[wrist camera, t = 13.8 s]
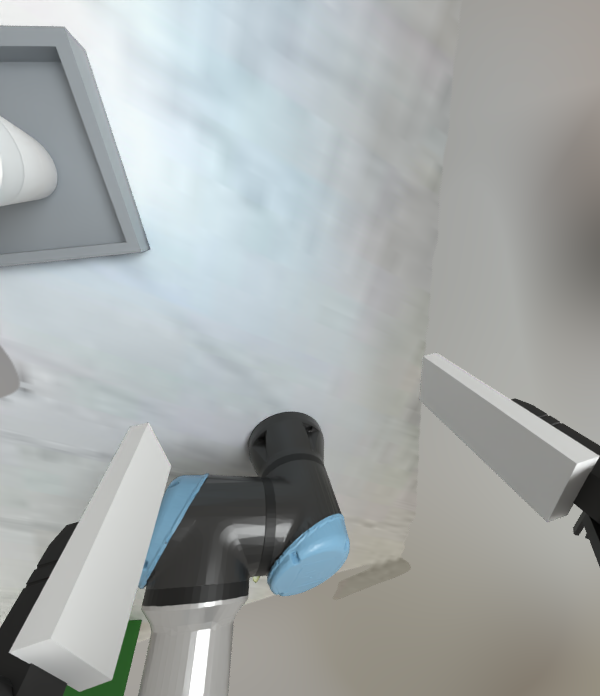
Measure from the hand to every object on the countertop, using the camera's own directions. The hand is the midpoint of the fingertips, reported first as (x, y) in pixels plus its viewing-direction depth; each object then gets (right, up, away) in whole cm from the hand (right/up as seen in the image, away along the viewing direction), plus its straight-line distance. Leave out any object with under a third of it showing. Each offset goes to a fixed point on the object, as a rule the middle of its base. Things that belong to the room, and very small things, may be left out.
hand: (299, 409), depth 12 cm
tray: (-29, +22, +16) cm, 40 cm away
